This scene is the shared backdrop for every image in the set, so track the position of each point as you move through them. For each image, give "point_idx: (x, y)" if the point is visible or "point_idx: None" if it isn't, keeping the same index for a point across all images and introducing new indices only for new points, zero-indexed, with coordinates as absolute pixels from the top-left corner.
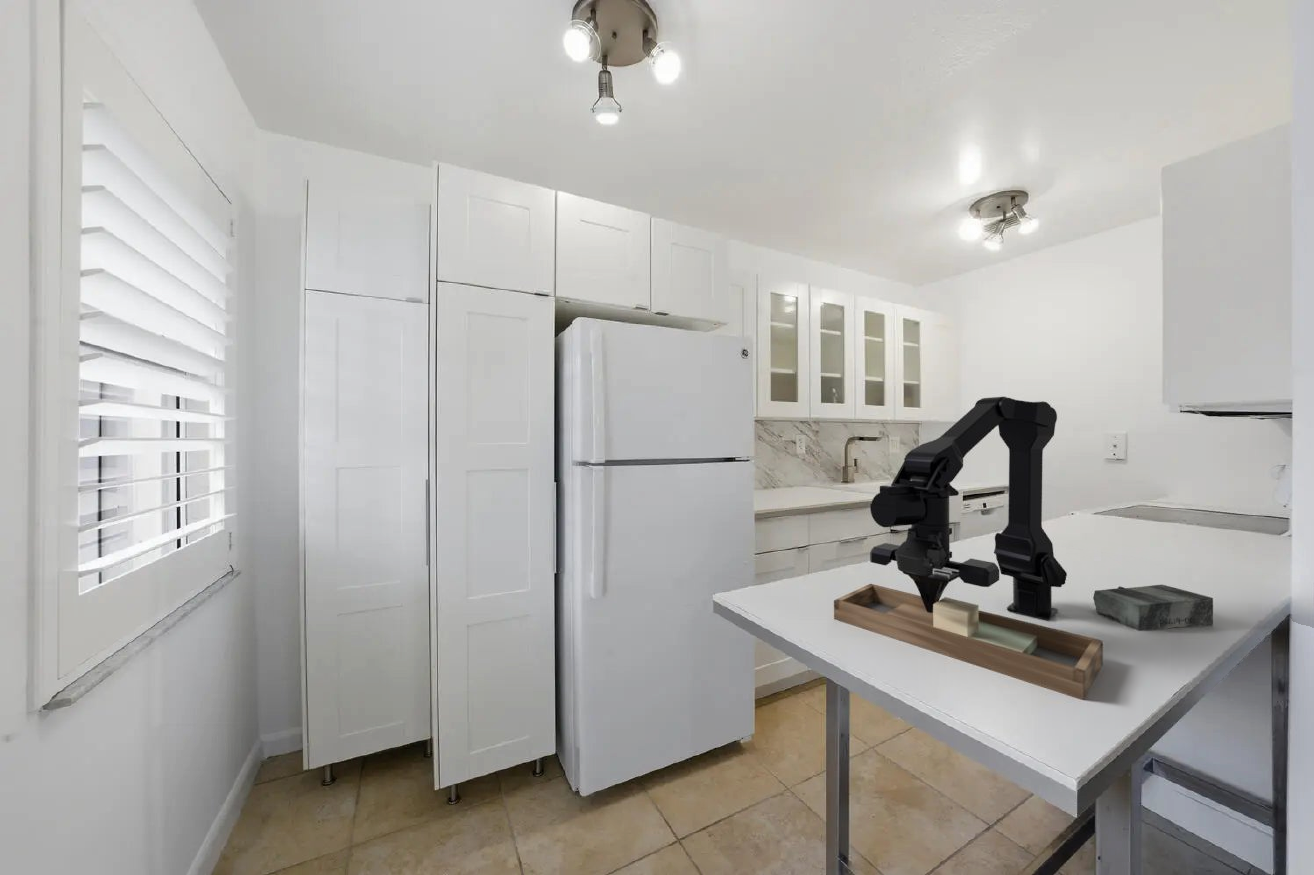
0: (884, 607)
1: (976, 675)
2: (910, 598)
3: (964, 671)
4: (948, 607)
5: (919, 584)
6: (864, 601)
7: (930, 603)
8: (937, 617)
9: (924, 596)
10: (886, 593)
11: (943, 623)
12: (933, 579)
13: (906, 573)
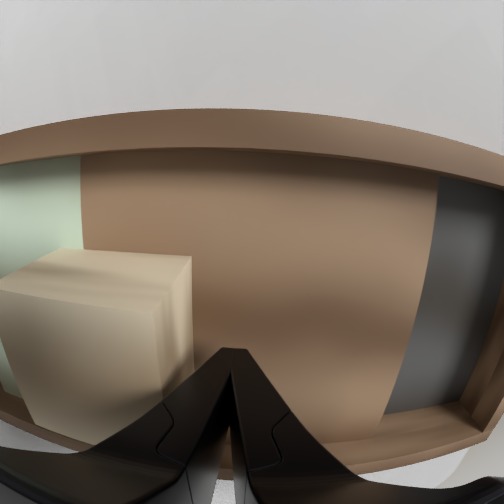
0: (429, 386)
1: (33, 77)
2: (362, 453)
3: (57, 69)
4: (64, 313)
5: (295, 464)
6: (488, 358)
7: (215, 373)
8: (153, 276)
9: (251, 397)
10: (439, 434)
11: (132, 265)
12: (24, 478)
13: (477, 490)
